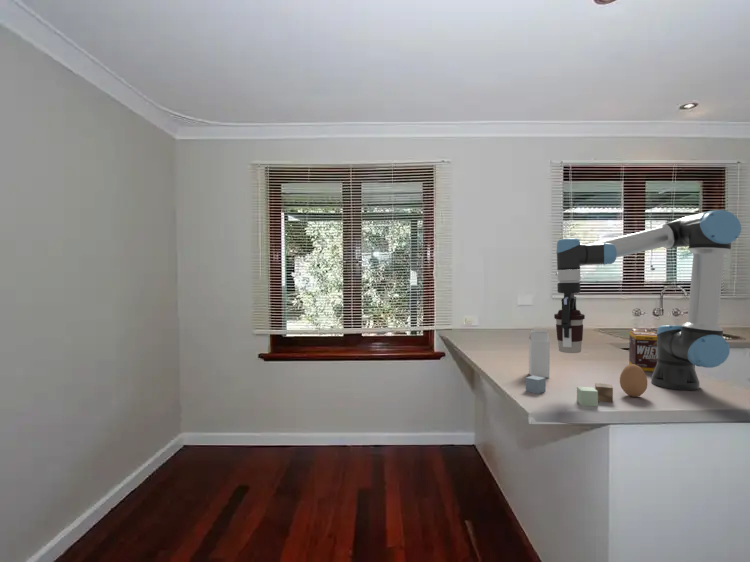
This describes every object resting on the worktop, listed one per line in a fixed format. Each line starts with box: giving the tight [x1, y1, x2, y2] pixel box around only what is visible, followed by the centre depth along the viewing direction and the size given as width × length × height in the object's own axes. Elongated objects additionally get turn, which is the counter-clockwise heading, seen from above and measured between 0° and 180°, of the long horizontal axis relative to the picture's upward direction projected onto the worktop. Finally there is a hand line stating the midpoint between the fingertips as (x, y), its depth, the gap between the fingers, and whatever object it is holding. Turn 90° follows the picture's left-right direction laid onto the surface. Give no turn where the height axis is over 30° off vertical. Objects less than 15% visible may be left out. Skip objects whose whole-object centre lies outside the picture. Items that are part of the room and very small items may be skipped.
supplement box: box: [628, 330, 657, 373], centre depth 194 cm, size 10×15×16 cm
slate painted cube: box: [525, 375, 547, 394], centre depth 157 cm, size 5×5×5 cm
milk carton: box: [528, 329, 551, 378], centre depth 180 cm, size 7×7×19 cm
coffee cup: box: [553, 309, 586, 354], centre depth 154 cm, size 10×10×15 cm
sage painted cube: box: [576, 386, 599, 407], centre depth 142 cm, size 5×5×5 cm
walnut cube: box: [594, 382, 614, 404], centre depth 146 cm, size 5×5×5 cm
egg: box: [619, 364, 648, 398], centre depth 150 cm, size 8×8×11 cm
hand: (569, 344), depth 154 cm, fingers closed on coffee cup, 9 cm apart
